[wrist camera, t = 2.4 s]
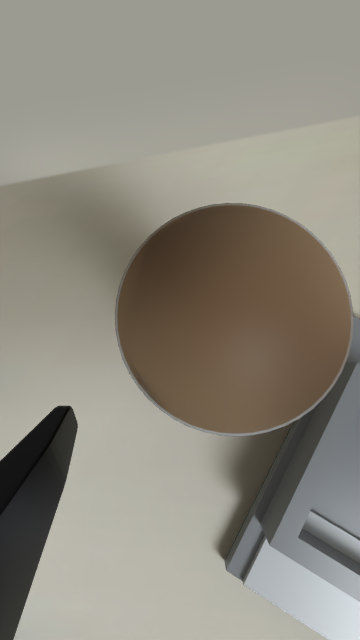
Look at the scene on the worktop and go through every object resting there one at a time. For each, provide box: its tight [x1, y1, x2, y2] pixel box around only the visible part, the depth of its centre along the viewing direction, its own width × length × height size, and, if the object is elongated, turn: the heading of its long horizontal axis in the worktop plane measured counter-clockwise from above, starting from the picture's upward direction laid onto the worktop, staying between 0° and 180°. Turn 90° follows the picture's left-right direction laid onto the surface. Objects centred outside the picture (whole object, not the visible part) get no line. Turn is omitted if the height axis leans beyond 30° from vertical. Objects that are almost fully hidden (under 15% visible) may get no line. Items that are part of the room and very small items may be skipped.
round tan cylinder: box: [115, 203, 353, 436], centre depth 13 cm, size 5×5×13 cm
